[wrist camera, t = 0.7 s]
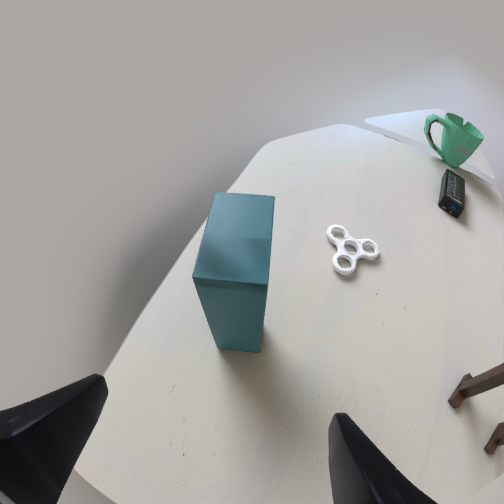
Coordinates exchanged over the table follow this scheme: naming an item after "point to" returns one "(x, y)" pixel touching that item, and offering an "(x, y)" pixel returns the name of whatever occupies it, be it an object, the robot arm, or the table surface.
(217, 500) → the table surface
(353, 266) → the fidget spinner
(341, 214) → the table surface
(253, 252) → the teal angular block
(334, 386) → the table surface
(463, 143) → the mug
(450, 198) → the multiport hub
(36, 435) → the robot arm
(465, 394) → the rack
